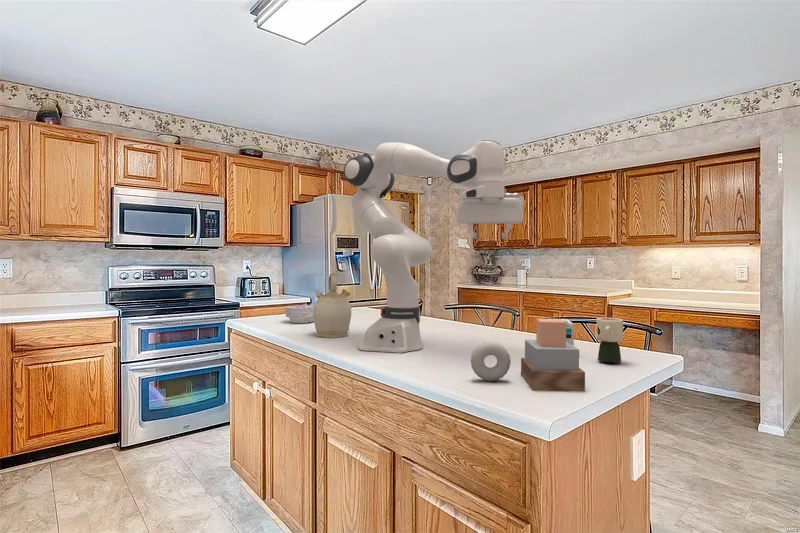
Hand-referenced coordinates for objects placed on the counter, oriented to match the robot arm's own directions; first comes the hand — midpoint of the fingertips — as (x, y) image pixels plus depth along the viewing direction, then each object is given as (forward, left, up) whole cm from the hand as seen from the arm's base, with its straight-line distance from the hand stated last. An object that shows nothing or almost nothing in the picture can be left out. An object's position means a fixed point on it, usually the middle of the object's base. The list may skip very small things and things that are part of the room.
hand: (489, 238), depth 138 cm
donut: (-3, -26, -37) cm, 46 cm away
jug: (-58, +36, -37) cm, 78 cm away
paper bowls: (-81, +70, -37) cm, 113 cm away
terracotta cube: (+12, -26, -28) cm, 40 cm away
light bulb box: (+24, +9, -37) cm, 45 cm away
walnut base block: (+12, -26, -38) cm, 47 cm away
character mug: (+35, -3, -37) cm, 51 cm away
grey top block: (+12, -26, -33) cm, 43 cm away
